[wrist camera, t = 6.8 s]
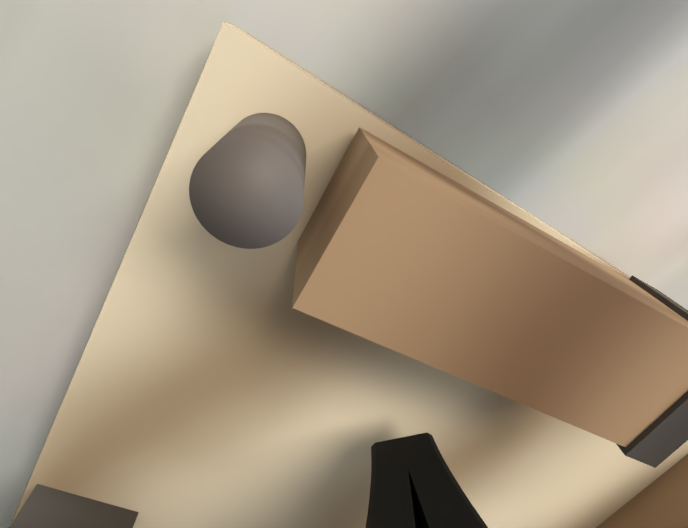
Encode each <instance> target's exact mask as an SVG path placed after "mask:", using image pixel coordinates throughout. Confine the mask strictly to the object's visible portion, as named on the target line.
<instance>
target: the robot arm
mask: <svg viewBox="0 0 688 528" xmlns="http://www.w3.org/2000/svg"><path fill="white" fill-rule="evenodd" d="M366 528H488V527H487V525H486V524H485V523H484V521H483V520H482V518H481V517H480V515H479V514H478V512H477V511H476V510H475V508H474V507H473V505H472V504H471V502H470V501H469V499H468V498H467V496H466V495H465V493H464V492H463V490H462V489H461V487H460V485H459V484H458V482H457V481H456V479H455V477H454V476H453V474H452V472H451V471H450V469H449V467H448V466H447V464H446V462H445V460H444V458H443V457H442V455H441V453H440V451H439V449H438V447H437V445H436V443H435V441H434V438H433V436H432V435H431V434H429V433H427V432H426V433H421V434H416V435H411V436H406V437H401V438H396V439H391V440H386V441H381V442H376V443H374V444H373V445H372V446H371V486H370V496H369V506H368V514H367V521H366Z"/></svg>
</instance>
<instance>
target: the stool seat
mask: <svg viewBox="0 0 688 528" xmlns="http://www.w3.org/2000/svg"><path fill="white" fill-rule="evenodd" d="M359 127H360V128H362V129H364V130H365V131H367V132H369V133H371V134H372V135H374V136H376V137H378V138H380V139H381V140H383V141H385V142H387V143H388V144H390V145H392V146H394V147H395V148H397V149H399V150H401V151H403V152H404V153H406V154H408V155H410V156H411V157H413V158H415V159H417V160H418V161H420V162H422V163H424V164H425V165H427V166H429V167H431V168H433V169H434V170H436V171H438V172H440V173H441V174H443V175H445V176H447V177H448V178H450V179H452V180H454V181H456V182H457V183H459V184H461V185H463V186H464V187H466V188H468V189H470V190H471V191H473V192H475V193H477V194H478V195H480V196H482V197H484V198H486V199H487V200H489V201H491V202H493V203H494V204H496V205H498V206H500V207H501V208H503V209H505V210H507V211H508V212H510V213H512V214H514V215H516V216H517V217H519V218H521V219H523V220H524V221H526V222H528V223H530V224H531V225H533V226H535V227H537V228H539V229H540V230H542V231H544V232H546V233H547V234H549V235H551V236H553V237H554V238H556V239H558V240H560V241H561V242H563V243H565V244H567V245H569V246H570V247H572V248H574V249H576V250H577V251H579V252H581V253H583V254H584V255H586V256H588V257H590V258H592V259H593V260H595V261H597V262H599V263H600V264H602V265H604V266H606V267H607V268H609V269H611V270H613V271H614V272H616V273H618V274H620V275H622V276H623V277H625V278H627V279H630V277H629V276H627V275H625V274H624V273H622V272H621V271H619V270H618V269H616V268H614V267H613V266H611V265H610V264H608V263H607V262H605V261H603V260H602V259H600V258H599V257H597V256H596V255H594V254H592V253H591V252H589V251H588V250H586V249H585V248H583V247H581V246H580V245H578V244H577V243H575V242H574V241H572V240H570V239H569V238H567V237H566V236H564V235H563V234H561V233H559V232H558V231H556V230H555V229H553V228H552V227H550V226H548V225H547V224H545V223H544V222H542V221H541V220H539V219H538V218H536V217H534V216H533V215H531V214H530V213H528V212H527V211H525V210H523V209H522V208H520V207H519V206H517V205H516V204H514V203H512V202H511V201H509V200H508V199H506V198H505V197H503V196H501V195H500V194H498V193H497V192H495V191H494V190H492V189H490V188H489V187H487V186H486V185H484V184H483V183H481V182H479V181H478V180H476V179H475V178H473V177H472V176H470V175H468V174H467V173H465V172H464V171H462V170H461V169H459V168H457V167H456V166H454V165H453V164H451V163H450V162H448V161H446V160H445V159H443V158H442V157H440V156H439V155H437V154H435V153H434V152H432V151H431V150H429V149H428V148H426V147H424V146H423V145H421V144H420V143H418V142H417V141H415V140H413V139H412V138H410V137H409V136H407V135H406V134H404V133H402V132H401V131H399V130H398V129H396V128H395V127H393V126H391V125H390V124H388V123H387V122H385V121H384V120H382V119H380V118H379V117H377V116H376V115H374V114H373V113H371V112H369V111H368V110H366V109H365V108H363V107H362V106H360V105H358V104H357V103H355V102H354V101H352V100H351V99H349V98H347V97H346V96H344V95H343V94H341V93H340V92H338V91H337V90H335V89H333V88H332V87H330V86H329V85H327V84H326V83H324V82H322V81H321V80H319V79H318V78H316V77H315V76H313V75H311V74H310V73H308V72H307V71H305V70H304V69H302V68H300V67H299V66H297V65H296V64H294V63H293V62H291V61H289V60H288V59H286V58H285V57H283V56H282V55H280V54H278V53H277V52H275V51H274V50H272V49H271V48H269V47H267V46H266V45H264V44H263V43H261V42H260V41H258V40H256V39H255V38H253V37H252V36H250V35H249V34H247V33H245V32H244V31H242V30H241V29H239V28H238V27H236V26H233V25H231V24H228V23H225V22H223V24H222V26H221V29H220V31H219V34H218V36H217V38H216V41H215V43H214V45H213V48H212V50H211V52H210V55H209V57H208V59H207V62H206V64H205V67H204V69H203V71H202V74H201V76H200V78H199V81H198V83H197V85H196V88H195V90H194V93H193V95H192V97H191V100H190V102H189V104H188V107H187V109H186V111H185V114H184V116H183V119H182V121H181V123H180V126H179V128H178V130H177V133H176V135H175V137H174V140H173V142H172V145H171V147H170V149H169V152H168V154H167V156H166V159H165V161H164V163H163V166H162V168H161V171H160V173H159V175H158V178H157V180H156V182H155V185H154V187H153V189H152V192H151V194H150V197H149V199H148V201H147V204H146V206H145V208H144V211H143V213H142V215H141V218H140V220H139V223H138V225H137V227H136V230H135V232H134V234H133V237H132V239H131V241H130V244H129V246H128V248H127V251H126V253H125V256H124V258H123V260H122V263H121V265H120V267H119V270H118V272H117V274H116V277H115V279H114V282H113V284H112V286H111V289H110V291H109V293H108V296H107V298H106V300H105V303H104V305H103V308H102V310H101V312H100V315H99V317H98V319H97V322H96V324H95V326H94V329H93V331H92V334H91V336H90V338H89V341H88V343H87V345H86V348H85V350H84V352H83V355H82V357H81V360H80V362H79V364H78V367H77V369H76V371H75V374H74V376H73V378H72V381H71V383H70V386H69V388H68V390H67V393H66V395H65V397H64V400H63V402H62V404H61V407H60V409H59V411H58V414H57V416H56V419H55V421H54V423H53V426H52V428H51V430H50V433H49V435H48V437H47V440H46V442H45V445H44V447H43V449H42V452H41V454H40V456H39V459H38V461H37V463H36V466H35V468H34V471H33V473H32V475H31V478H30V480H29V482H28V485H27V487H26V489H25V492H24V494H23V497H22V499H21V501H20V504H19V506H18V508H17V511H16V513H15V515H14V518H13V520H12V523H11V525H10V527H9V528H366V521H367V514H368V506H369V496H370V486H371V446H372V445H373V444H374V443H376V442H381V441H386V440H391V439H396V438H401V437H406V436H411V435H416V434H421V433H426V432H427V433H429V434H431V435H432V436H433V438H434V441H435V443H436V445H437V447H438V449H439V451H440V453H441V455H442V457H443V458H444V460H445V462H446V464H447V466H448V467H449V469H450V471H451V472H452V474H453V476H454V477H455V479H456V481H457V482H458V484H459V485H460V487H461V489H462V490H463V492H464V493H465V495H466V496H467V498H468V499H469V501H470V502H471V504H472V505H473V507H474V508H475V510H476V511H477V512H478V514H479V515H480V517H481V518H482V520H483V521H484V523H485V524H486V525H487V527H488V528H688V440H687V441H686V442H685V443H684V444H683V445H682V446H680V447H679V448H678V449H677V450H676V451H675V452H673V453H672V454H671V455H670V456H669V457H668V458H666V459H665V460H664V461H663V462H662V463H661V464H659V465H658V466H657V467H656V468H654V467H652V466H649V465H647V464H644V463H642V462H640V461H637V460H635V459H632V458H630V457H627V456H625V455H624V453H623V452H622V451H621V450H620V448H619V447H618V446H617V444H616V443H614V442H611V441H609V440H607V439H604V438H602V437H599V436H597V435H595V434H592V433H590V432H587V431H585V430H583V429H580V428H578V427H575V426H573V425H571V424H568V423H566V422H564V421H561V420H559V419H556V418H554V417H552V416H549V415H547V414H544V413H542V412H540V411H537V410H535V409H532V408H530V407H528V406H525V405H523V404H521V403H518V402H516V401H513V400H511V399H509V398H506V397H504V396H501V395H499V394H497V393H494V392H492V391H490V390H487V389H485V388H482V387H480V386H478V385H475V384H473V383H470V382H468V381H466V380H463V379H461V378H458V377H456V376H454V375H451V374H449V373H447V372H444V371H442V370H439V369H437V368H435V367H432V366H430V365H427V364H425V363H423V362H420V361H418V360H415V359H413V358H411V357H408V356H406V355H404V354H401V353H399V352H396V351H394V350H392V349H389V348H387V347H384V346H382V345H380V344H377V343H375V342H372V341H370V340H368V339H365V338H363V337H361V336H358V335H356V334H353V333H351V332H349V331H346V330H344V329H341V328H339V327H337V326H334V325H332V324H329V323H327V322H325V321H322V320H320V319H318V318H315V317H313V316H310V315H308V314H306V313H303V312H301V311H298V310H296V309H294V308H292V307H293V295H294V282H295V270H296V257H297V245H298V240H299V238H300V237H301V235H302V233H303V231H304V229H305V227H306V225H307V224H308V222H309V220H310V218H311V216H312V214H313V212H314V211H315V209H316V207H317V205H318V203H319V201H320V199H321V197H322V196H323V194H324V192H325V190H326V188H327V186H328V184H329V183H330V181H331V179H332V177H333V175H334V173H335V171H336V170H337V168H338V166H339V164H340V162H341V160H342V158H343V157H344V155H345V153H346V151H347V149H348V147H349V145H350V143H351V142H352V140H353V138H354V136H355V134H356V132H357V130H358V129H359Z"/></svg>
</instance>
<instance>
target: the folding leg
mask: <svg viewBox="0 0 688 528" xmlns="http://www.w3.org/2000/svg"><path fill="white" fill-rule="evenodd" d="M292 308H294V309H296V310H298V311H301V312H303V313H306V314H308V315H310V316H313V317H315V318H318V319H320V320H322V321H325V322H327V323H329V324H332V325H334V326H337V327H339V328H341V329H344V330H346V331H349V332H351V333H353V334H356V335H358V336H361V337H363V338H365V339H368V340H370V341H372V342H375V343H377V344H380V345H382V346H384V347H387V348H389V349H392V350H394V351H396V352H399V353H401V354H404V355H406V356H408V357H411V358H413V359H415V360H418V361H420V362H423V363H425V364H427V365H430V366H432V367H435V368H437V369H439V370H442V371H444V372H447V373H449V374H451V375H454V376H456V377H458V378H461V379H463V380H466V381H468V382H470V383H473V384H475V385H478V386H480V387H482V388H485V389H487V390H490V391H492V392H494V393H497V394H499V395H501V396H504V397H506V398H509V399H511V400H513V401H516V402H518V403H521V404H523V405H525V406H528V407H530V408H532V409H535V410H537V411H540V412H542V413H544V414H547V415H549V416H552V417H554V418H556V419H559V420H561V421H564V422H566V423H568V424H571V425H573V426H575V427H578V428H580V429H583V430H585V431H587V432H590V433H592V434H595V435H597V436H599V437H602V438H604V439H607V440H609V441H611V442H614V443H616V444H617V446H618V447H619V448H620V450H621V451H622V452H623V453H624V455H625V456H627V457H630V458H632V459H635V460H637V461H640V462H642V463H644V464H647V465H649V466H652V467H654V468H656V467H657V466H658V465H659V464H661V463H662V462H663V461H664V460H665V459H666V458H668V457H669V456H670V455H671V454H672V453H673V452H675V451H676V450H677V449H678V448H679V447H680V446H682V445H683V444H684V443H685V442H686V441H687V440H688V310H686V309H685V308H683V307H682V306H680V305H679V304H677V303H676V302H675V301H673V300H672V299H670V298H669V297H667V296H666V295H664V294H663V293H661V292H660V291H658V290H657V289H655V288H653V287H651V286H650V285H648V284H646V283H644V282H643V281H641V280H639V279H637V278H636V277H634V276H632V277H631V278H630V279H627V278H625V277H623V276H622V275H620V274H618V273H616V272H614V271H613V270H611V269H609V268H607V267H606V266H604V265H602V264H600V263H599V262H597V261H595V260H593V259H592V258H590V257H588V256H586V255H584V254H583V253H581V252H579V251H577V250H576V249H574V248H572V247H570V246H569V245H567V244H565V243H563V242H561V241H560V240H558V239H556V238H554V237H553V236H551V235H549V234H547V233H546V232H544V231H542V230H540V229H539V228H537V227H535V226H533V225H531V224H530V223H528V222H526V221H524V220H523V219H521V218H519V217H517V216H516V215H514V214H512V213H510V212H508V211H507V210H505V209H503V208H501V207H500V206H498V205H496V204H494V203H493V202H491V201H489V200H487V199H486V198H484V197H482V196H480V195H478V194H477V193H475V192H473V191H471V190H470V189H468V188H466V187H464V186H463V185H461V184H459V183H457V182H456V181H454V180H452V179H450V178H448V177H447V176H445V175H443V174H441V173H440V172H438V171H436V170H434V169H433V168H431V167H429V166H427V165H425V164H424V163H422V162H420V161H418V160H417V159H415V158H413V157H411V156H410V155H408V154H406V153H404V152H403V151H401V150H399V149H397V148H395V147H394V146H392V145H390V144H388V143H387V142H385V141H383V140H381V139H380V138H378V137H376V136H374V135H372V134H371V133H369V132H367V131H365V130H364V129H362V128H360V127H359V129H358V130H357V132H356V134H355V136H354V138H353V140H352V142H351V143H350V145H349V147H348V149H347V151H346V153H345V155H344V157H343V158H342V160H341V162H340V164H339V166H338V168H337V170H336V171H335V173H334V175H333V177H332V179H331V181H330V183H329V184H328V186H327V188H326V190H325V192H324V194H323V196H322V197H321V199H320V201H319V203H318V205H317V207H316V209H315V211H314V212H313V214H312V216H311V218H310V220H309V222H308V224H307V225H306V227H305V229H304V231H303V233H302V235H301V237H300V238H299V240H298V245H297V257H296V270H295V282H294V295H293V307H292Z"/></svg>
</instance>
